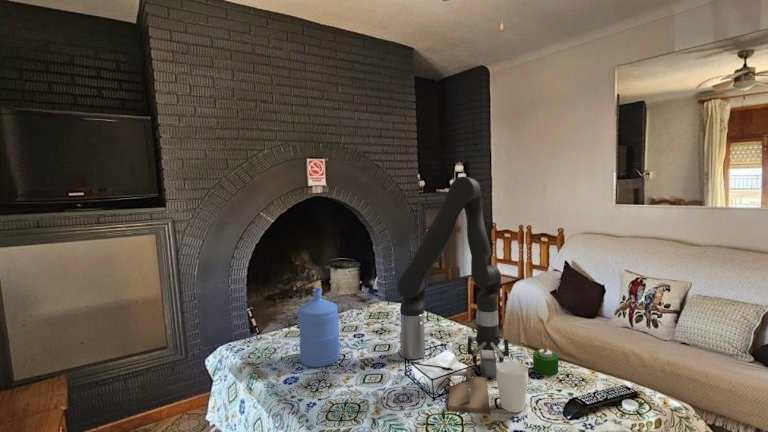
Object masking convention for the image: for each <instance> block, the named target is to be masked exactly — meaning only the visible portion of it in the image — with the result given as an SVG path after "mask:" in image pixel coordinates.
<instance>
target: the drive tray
mask: <svg viewBox="0 0 768 432" xmlns="http://www.w3.org/2000/svg"><path fill="white" fill-rule="evenodd" d="M465 370H466V372H465V373H466V374H465V376H466V381H464V382H462V383H459V384H457V385H453V386H450V385H449V391H448V406H447V407H448V409H447V410H449V411H458V412H459V411H462V412H472V413H473V412H474V413H484V414H490V413H491V408H490V407H491V406H490V405H491V404H490V399H489V390H488V380H487V377H481V376H475V375H474V377H473V378H471V379H470V376H471V369H470V367H466V369H465Z"/></svg>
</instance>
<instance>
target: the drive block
mask: <svg viewBox="0 0 768 432" xmlns="http://www.w3.org/2000/svg"><path fill="white" fill-rule="evenodd" d="M479 357H480V359H479V365H480V377H486V378H495V379H497V376H496V375H497V357H496V351H495V350H493V351H490V350H483V349H481V351H480V352H479Z"/></svg>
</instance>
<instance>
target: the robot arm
mask: <svg viewBox="0 0 768 432" xmlns="http://www.w3.org/2000/svg"><path fill="white" fill-rule="evenodd" d="M482 207H483V206H482V193H481V185H480V183H479V182H478V181H477V180H476V179H474V178H473V177H468V176H460V177H456V179H454V180H453V181H452V183H451V184H450V186H449V188H448V191H447V193H446V195H445V197H444V200H443V202H442V204H441V206H440V208H439V210H438V211H437V213H436V214H435V216H434V218H433V220H432V221H431V223H430V225H429V227H428V228H427V230H426V232H425V234H424V236H423V238H422V239H421V242H420V243H419V245H418V246H417V249H416V251H415V253H414V256H413V258H412V260H411V261H410V263H409V265H408V266H407V268H406V269H405V271H404V272H403V273H402V274H401V276H400V278H399V279H398V281H397V284H396V289H397V292H398V294H399V295H400V296H401V297H402V300H401V304H400V307H399V309H400V310H399V312H400V337H399V340H400V341H399V342H400V358H402V359H406V358H407V359H406V360H409V359H418V360H420V359H419V358H421V359H424V357H425V356H426V338H425V336H426V335H425V334H426V333H425V330H426V329H425V305H426V282H425V278H426V276H427V274H428V272H429V271H430V269H432V267H433V266H434V265H435V264H436V263H437V261H438V260H439V259H440V257H441V256H442V255H443V253H444V252H445V250H446V248H447V247H448V245H449V244H450V242H451V239H452V237H453V235H454V232H455V228H456V224H457V220H458V218H459V217H460V215H461V213H462V211H463V209H464V213H465V219H466V236H467V242H468V247H469V253H470V255H471V259H470V260H471V261H470V265H471V266H470V267H471V270H470V273H471V278H472V281H473V283H474V285H475V286H477V287H478V288H481V290H480V292H478V294H476V295H477V296H476V314H475V315H476V317H475V320H476V336H475V337H474V336H472V335H468V336H467V349H466V350H467V351H466V352H467V354H468V355H471V356H472V364H473V365H474V366H475V367H478V361H477V360H478V357H477V355H478V353H480V351H481V349H483V350H490V351H493V350H494V352H495V353H497V354H498V364H499V363H501V362H505V361H504V358H505V357H509V356H510V349H509V339H508V337H507V336H505V337H503V338H501V337H499V335H500V334H499V312H498V297H499V292H500V287H501V283H502V275H501V271H500V269H499V268H498V266H496V265H494V264H488V260H489V258H490V257H492V250H491V246H490V242H489V237H488V234H487V230H486V229H487V228H486V225H485V221H484V214H483V213H484V212H483V208H482ZM475 342H476V346H475V348H473V349H472V344H474V343H475ZM500 343H501V344H502V345H504V346H503V347H504V350H502V349H501V348H500V346H499V345H500Z"/></svg>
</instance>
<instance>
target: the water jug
mask: <svg viewBox="0 0 768 432" xmlns="http://www.w3.org/2000/svg"><path fill="white" fill-rule="evenodd" d="M312 297H313V298H312V300H310V301H308V302H306V303H304V304H302V305H300V306H299V308H297V321H298V329H299V339H300V340H299V361H300V363H301V364H302V365H303V366H307V367H310V368H323V367H327V366H330V365H333V364H335V363H336V362H337V361H338V360H339V359H340V357H341V350H340V330H339V308H338V305H337V304H336V303H335V302H332V301H329V300H326V299H323V298H322V289H321V288H318V287H317V288H313V289H312Z"/></svg>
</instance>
